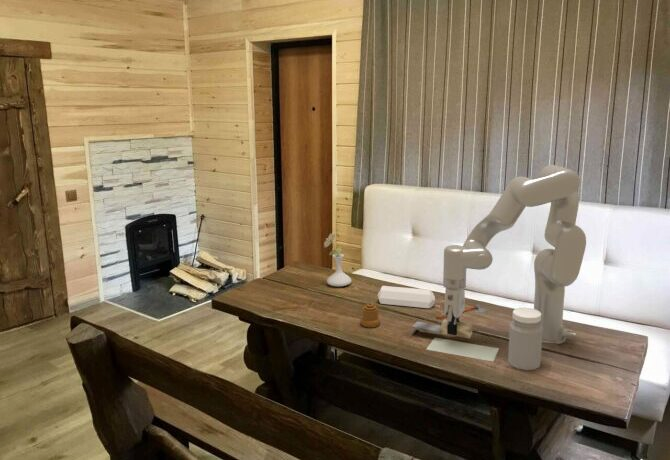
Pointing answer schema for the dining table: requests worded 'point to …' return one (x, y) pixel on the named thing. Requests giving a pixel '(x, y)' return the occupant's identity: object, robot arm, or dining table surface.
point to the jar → (525, 339)
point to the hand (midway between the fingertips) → (453, 332)
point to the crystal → (406, 297)
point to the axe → (478, 307)
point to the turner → (445, 328)
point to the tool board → (463, 349)
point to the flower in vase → (337, 266)
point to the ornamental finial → (370, 316)
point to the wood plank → (408, 332)
